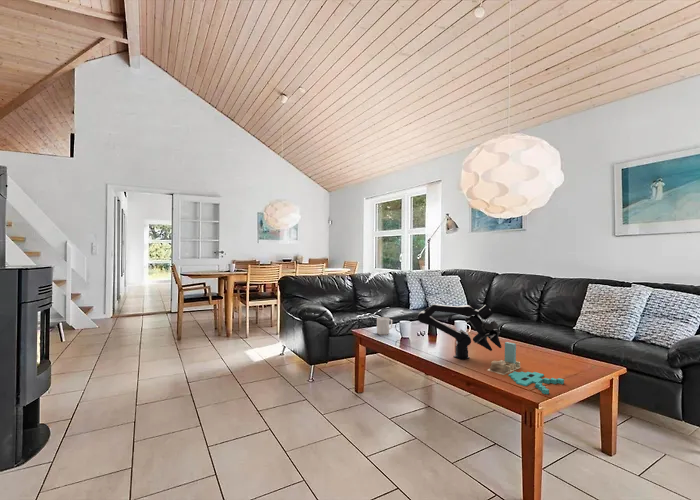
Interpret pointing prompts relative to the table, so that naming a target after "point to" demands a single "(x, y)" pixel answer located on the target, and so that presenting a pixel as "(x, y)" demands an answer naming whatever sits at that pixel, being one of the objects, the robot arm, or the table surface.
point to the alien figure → (534, 380)
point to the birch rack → (509, 367)
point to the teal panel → (510, 352)
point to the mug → (383, 325)
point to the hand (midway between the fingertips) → (496, 349)
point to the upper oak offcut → (498, 364)
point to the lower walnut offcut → (499, 369)
